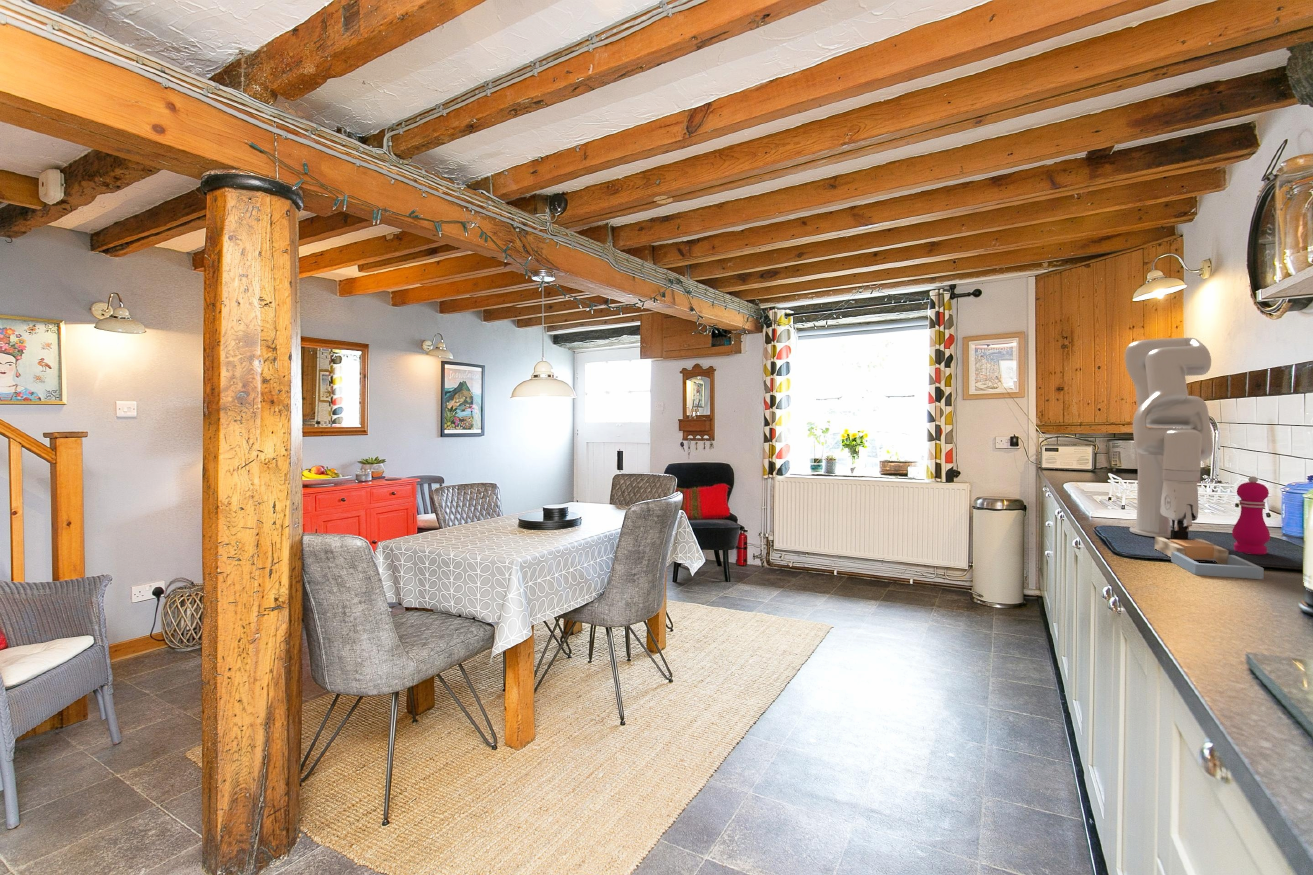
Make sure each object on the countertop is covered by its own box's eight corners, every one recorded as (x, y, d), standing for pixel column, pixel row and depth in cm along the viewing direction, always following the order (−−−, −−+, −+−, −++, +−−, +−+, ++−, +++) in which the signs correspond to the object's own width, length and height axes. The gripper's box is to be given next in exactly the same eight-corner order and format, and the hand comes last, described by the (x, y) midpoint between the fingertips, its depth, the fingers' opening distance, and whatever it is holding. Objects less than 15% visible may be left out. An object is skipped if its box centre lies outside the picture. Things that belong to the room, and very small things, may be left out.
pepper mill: (1252, 548, 164) (1256, 474, 163) (1277, 555, 157) (1281, 478, 156) (1223, 548, 165) (1226, 474, 164) (1246, 554, 158) (1250, 478, 157)
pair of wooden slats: (1154, 549, 165) (1154, 536, 165) (1201, 552, 161) (1201, 539, 161) (1176, 561, 153) (1177, 547, 152) (1227, 564, 149) (1228, 550, 149)
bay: (1171, 561, 153) (1171, 551, 153) (1233, 565, 149) (1234, 555, 149) (1194, 574, 142) (1195, 564, 141) (1263, 579, 137) (1263, 568, 137)
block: (1168, 554, 161) (1168, 539, 160) (1194, 555, 159) (1195, 540, 159) (1185, 561, 154) (1186, 545, 153) (1213, 562, 152) (1213, 546, 152)
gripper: (1152, 473, 170) (1150, 538, 171) (1176, 479, 156) (1174, 550, 157) (1185, 473, 167) (1183, 539, 168) (1213, 480, 153) (1210, 552, 154)
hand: (1178, 544), depth 162 cm, fingers closed
